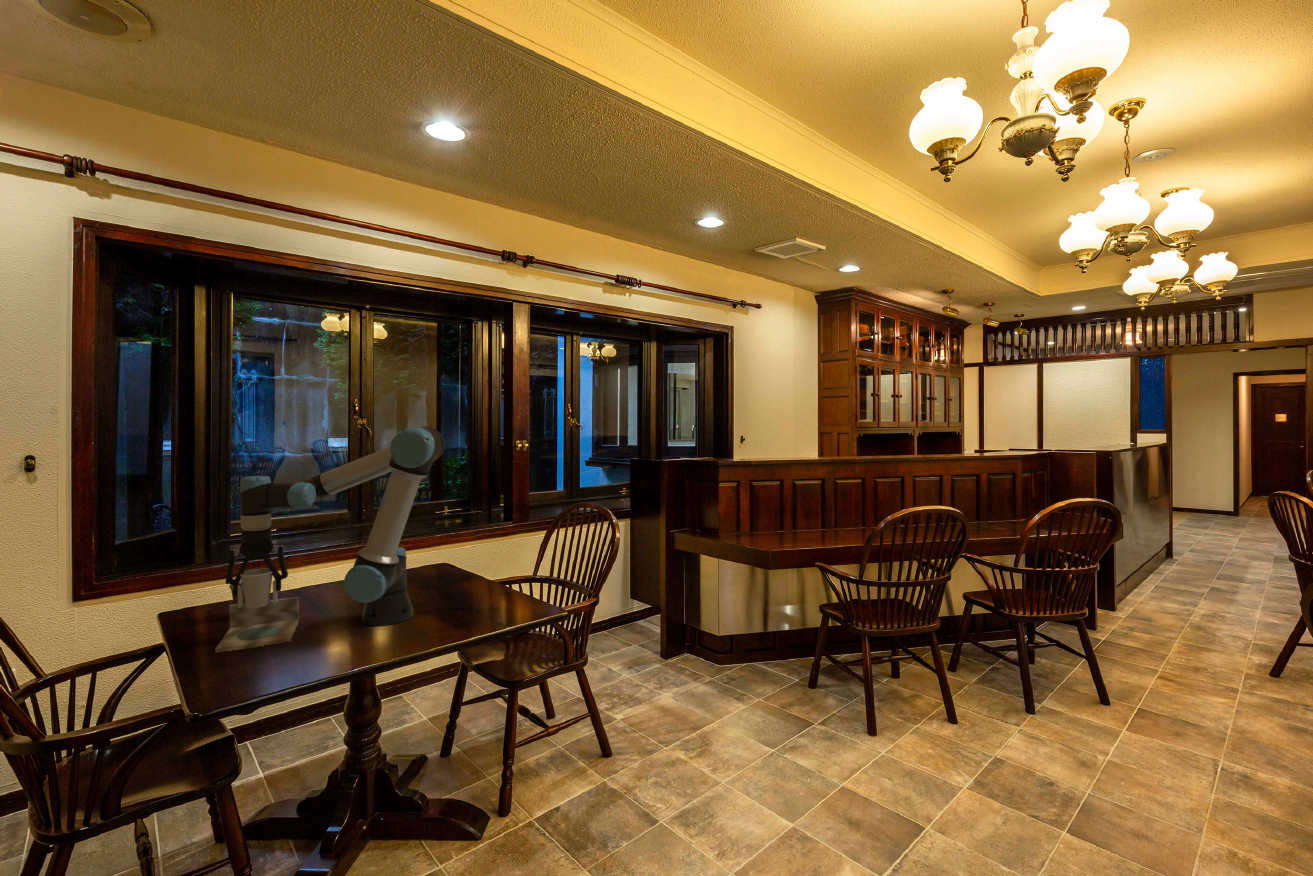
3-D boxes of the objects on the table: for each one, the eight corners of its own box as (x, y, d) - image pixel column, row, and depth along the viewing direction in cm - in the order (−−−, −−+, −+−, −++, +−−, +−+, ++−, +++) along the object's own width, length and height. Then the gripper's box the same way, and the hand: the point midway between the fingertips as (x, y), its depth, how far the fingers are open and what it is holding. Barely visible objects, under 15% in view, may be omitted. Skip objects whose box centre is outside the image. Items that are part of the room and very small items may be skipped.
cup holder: (298, 621, 193) (298, 597, 193) (290, 642, 175) (289, 615, 175) (231, 630, 185) (230, 604, 185) (215, 652, 168) (214, 624, 167)
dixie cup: (277, 605, 179) (276, 572, 179) (243, 611, 173) (242, 577, 173) (270, 599, 185) (270, 566, 185) (238, 604, 179) (237, 571, 179)
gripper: (298, 523, 186) (300, 596, 187) (216, 528, 177) (218, 605, 178) (295, 527, 179) (297, 603, 180) (210, 533, 171) (212, 612, 171)
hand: (258, 604), depth 179 cm, fingers closed on dixie cup, 8 cm apart
